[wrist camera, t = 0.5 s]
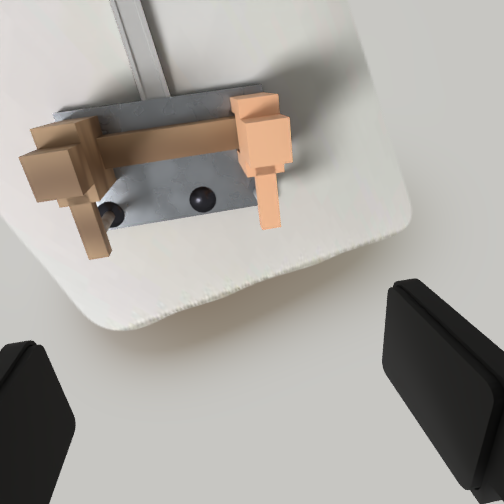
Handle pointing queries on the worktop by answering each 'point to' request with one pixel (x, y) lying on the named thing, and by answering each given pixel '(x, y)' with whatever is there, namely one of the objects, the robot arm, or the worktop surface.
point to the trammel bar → (109, 163)
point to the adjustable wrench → (140, 49)
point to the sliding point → (263, 149)
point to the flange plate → (172, 162)
